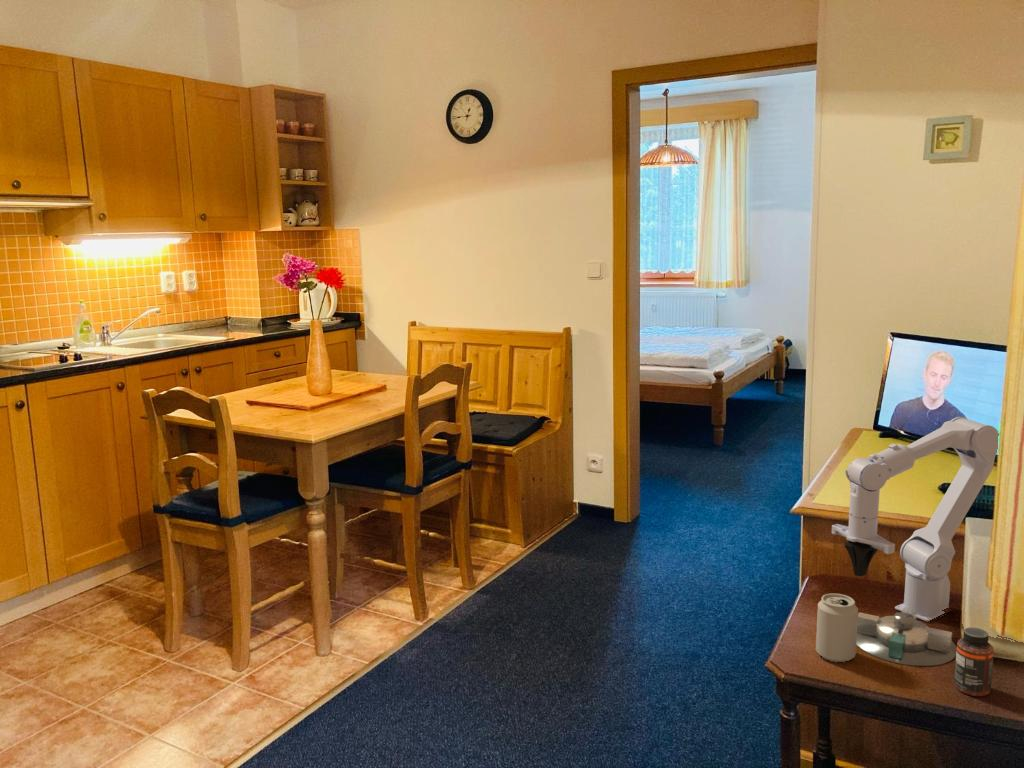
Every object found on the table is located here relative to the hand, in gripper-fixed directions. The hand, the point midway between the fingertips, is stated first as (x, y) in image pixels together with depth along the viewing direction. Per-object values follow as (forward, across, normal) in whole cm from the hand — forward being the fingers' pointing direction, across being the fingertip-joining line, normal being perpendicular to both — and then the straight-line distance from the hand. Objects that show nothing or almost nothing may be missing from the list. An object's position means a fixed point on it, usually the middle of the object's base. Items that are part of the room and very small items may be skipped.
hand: (860, 574), depth 183 cm
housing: (+10, +12, -1) cm, 16 cm away
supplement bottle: (+10, +30, -6) cm, 33 cm away
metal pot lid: (+10, +12, -1) cm, 16 cm away
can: (+10, +9, -18) cm, 22 cm away
